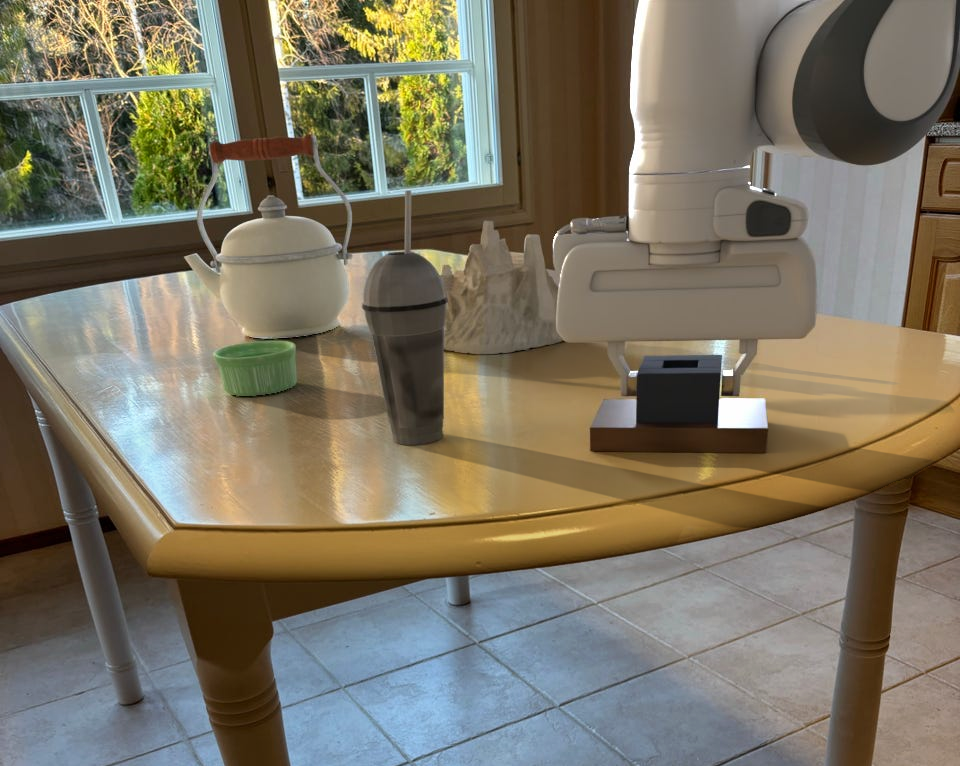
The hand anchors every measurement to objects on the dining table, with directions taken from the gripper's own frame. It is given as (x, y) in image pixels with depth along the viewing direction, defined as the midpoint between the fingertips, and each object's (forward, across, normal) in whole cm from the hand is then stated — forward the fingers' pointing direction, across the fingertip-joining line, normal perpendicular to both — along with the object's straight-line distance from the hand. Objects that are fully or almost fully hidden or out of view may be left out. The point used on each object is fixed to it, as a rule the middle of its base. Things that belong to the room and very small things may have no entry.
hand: (679, 394), depth 77 cm
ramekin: (+4, -47, +17) cm, 50 cm away
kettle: (+4, -60, +51) cm, 79 cm away
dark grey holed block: (+2, 0, 0) cm, 2 cm away
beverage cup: (+4, -23, -1) cm, 23 cm away
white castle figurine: (+4, -25, +41) cm, 48 cm away
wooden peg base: (+4, 0, 0) cm, 4 cm away
